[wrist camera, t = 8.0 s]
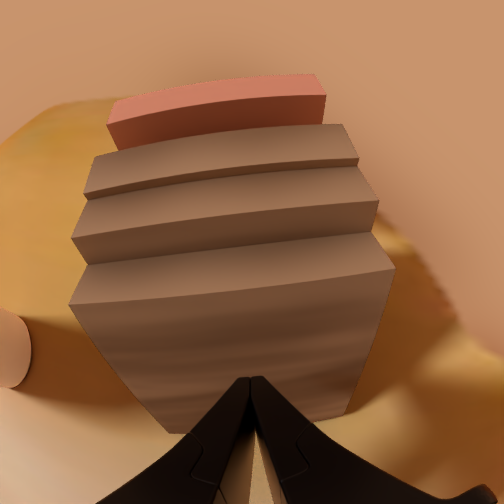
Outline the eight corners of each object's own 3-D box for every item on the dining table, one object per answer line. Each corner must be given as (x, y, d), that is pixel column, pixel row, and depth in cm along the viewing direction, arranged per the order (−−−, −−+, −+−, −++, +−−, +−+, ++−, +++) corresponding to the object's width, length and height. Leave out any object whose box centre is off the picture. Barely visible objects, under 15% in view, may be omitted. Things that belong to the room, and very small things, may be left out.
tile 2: (330, 347, 17) (379, 200, 9) (165, 365, 17) (70, 238, 8) (323, 319, 18) (357, 166, 10) (166, 336, 18) (87, 200, 10)
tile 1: (342, 415, 14) (395, 268, 8) (169, 433, 14) (68, 304, 8) (335, 387, 16) (370, 231, 10) (170, 404, 16) (87, 265, 9)
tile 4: (304, 225, 21) (326, 94, 12) (167, 241, 21) (106, 124, 11) (298, 203, 22) (314, 74, 12) (168, 218, 22) (115, 101, 12)
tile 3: (316, 282, 19) (359, 157, 10) (166, 299, 19) (83, 193, 9) (311, 255, 20) (342, 124, 11) (166, 272, 20) (94, 156, 10)
